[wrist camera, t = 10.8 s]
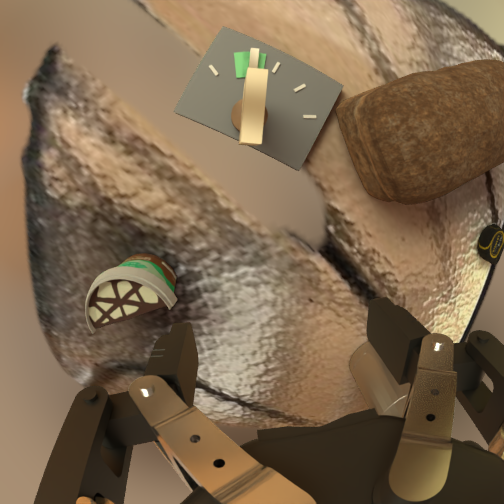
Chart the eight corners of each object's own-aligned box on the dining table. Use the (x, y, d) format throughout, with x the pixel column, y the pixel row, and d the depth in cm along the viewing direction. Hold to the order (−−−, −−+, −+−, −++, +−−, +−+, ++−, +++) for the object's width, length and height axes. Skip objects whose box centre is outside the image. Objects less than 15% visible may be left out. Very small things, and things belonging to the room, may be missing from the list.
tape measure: (486, 261, 44) (498, 268, 41) (469, 250, 43) (482, 257, 39) (499, 230, 42) (511, 235, 39) (483, 216, 41) (496, 221, 37)
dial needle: (262, 147, 34) (274, 145, 25) (228, 144, 33) (228, 141, 24) (271, 52, 30) (284, 21, 21) (238, 48, 29) (240, 16, 20)
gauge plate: (296, 170, 37) (299, 171, 35) (175, 113, 33) (173, 111, 32) (339, 87, 33) (344, 85, 32) (223, 30, 30) (223, 25, 28)
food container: (168, 231, 38) (149, 257, 29) (186, 272, 40) (174, 308, 31) (95, 262, 39) (64, 292, 29) (114, 298, 41) (89, 334, 31)
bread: (494, 139, 36) (559, 148, 21) (359, 205, 39) (425, 237, 24) (468, 62, 32) (533, 50, 17) (318, 106, 34) (372, 81, 19)
